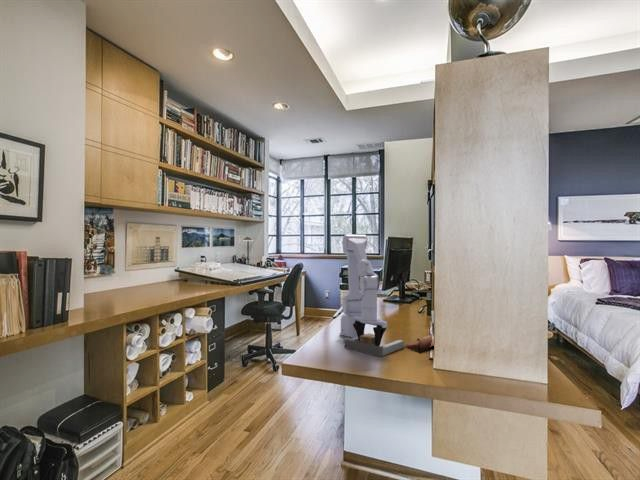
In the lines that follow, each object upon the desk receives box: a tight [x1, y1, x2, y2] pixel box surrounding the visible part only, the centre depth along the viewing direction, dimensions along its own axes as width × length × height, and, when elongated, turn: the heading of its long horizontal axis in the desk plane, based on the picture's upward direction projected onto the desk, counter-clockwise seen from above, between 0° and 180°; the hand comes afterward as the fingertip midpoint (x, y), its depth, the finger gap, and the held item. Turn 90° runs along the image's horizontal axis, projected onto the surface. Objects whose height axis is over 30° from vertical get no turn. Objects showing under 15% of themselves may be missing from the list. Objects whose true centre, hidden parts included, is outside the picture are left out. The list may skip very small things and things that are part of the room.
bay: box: [343, 332, 405, 358], centre depth 121 cm, size 16×16×3 cm
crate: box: [360, 332, 375, 345], centre depth 119 cm, size 5×5×5 cm
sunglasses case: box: [404, 334, 433, 353], centre depth 123 cm, size 18×7×7 cm, turn 128°
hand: (369, 343), depth 119 cm, fingers open, 7 cm apart
